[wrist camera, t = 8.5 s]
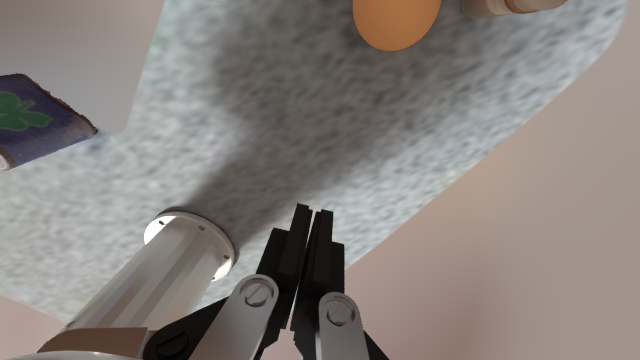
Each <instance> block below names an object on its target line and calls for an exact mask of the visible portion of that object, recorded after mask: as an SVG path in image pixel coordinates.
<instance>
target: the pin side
mask: <svg viewBox="0 0 640 360" xmlns="http://www.w3.org/2000/svg"><path fill="white" fill-rule="evenodd" d="M566 1H568V0H462V1H461V9H462V12H463V13H464V15H465V16H466V17H468V18H482V17H490V16H499V15H507V14H515V13H518V14H523V13H531V12H536V11H539V10H547V9H553V8H556V7H558V6H560V5H562V4H564V3H565V2H566Z"/></svg>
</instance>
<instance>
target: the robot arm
mask: <svg viewBox="0 0 640 360" xmlns="http://www.w3.org/2000/svg"><path fill="white" fill-rule="evenodd" d="M312 212H313V210H310V209H309V206H307V205H303V204H299V203H297V207H296V210H295V214H294V217H293V220H292V224H291V227H290V231H287V230H282V229H278V228H273V230H272V232H271V235H270V237H269V240H268V243H267V245H266V248H265V250H264V253H263V256H262V258H261V261H260V263H259V266H258V269H257V271H256V274H253V275H249V276H247V277H245V278H243V279H242V280H241V281H240V282H239V283H238V284H237V285H236V287H235V289H234V290H233V292H232V293H231V295H230V296H228V297H226V298H224V299H222V300H220V301H217V302H215V303H213V304H211V305H209V306H207V307H204V308H202V309H200V310H198V311H196V312H194V310H195V308H196V307H197V305H198V303H199V301H200V300H201V298H202V296H203V294H204V293H205V291H206V289H207V288H208V286H209V284H210V282H211V281H216V280H219V279H221V278H223V277H224V276H226V275H227V274H228V273H229V271H230V269H231V267H232V266H233V263H234V258H235V254H234V249H233V246H232V244H231V242H230V240H229V239H228V237H227V236H226V235H225V234H224V233H223V232H222V230H221V229H219V228H218V227H217V226H216V225H214V224H213V223H211V222H210V221H208V220H206V219H205V218H202V217H200V216H198V215H194V214H191V213H187V212H179V211H178V212H167V213H163V214H161V215H159V216H157V217H156V218H155V219H154V220H153V221H151V222H150V224H149V225H148V226H147V228H146V230H145V236H144V238H145V244H146V245H145V246H144V247H143V248H142V249H141V250H140V251H139V252H138V253H137V254H136V255H135V256H134V257H133V258H132V259H131V260H130V261H129V262H128V263H127V264H126V265H125V266H124V267H123V268H122V269H121V270H120V271H119V272H118V273H117V274H116V275H115V276H114V277H113V278H112V279H111V280H110V281H109V282H108V283H107V284H106V285H105V286H104V287H103V288H102V289H101V290H100V291H99V292H98V293H97V294H96V295H95V296H94V297H93V298H92V299H91V300H90V301H89V302H88V303H87V305H86V306H85V307H84V308H83V309H82V310H81V311H80V312H79V313H78V314H77V315H76V316H75V317H74V318H73V319H72V320H71V321H70V322H69V323H68V324H67V325H66V326H65V327H64V328H63V329H62V330H61V331H60V332H59V333H58V334H57V335H56V336H55V337H53V338H52V339H50V340H49V341H47V342H46V343H45V344H44V345H43V346H42V347H41V348H40V349H39V350H38V351H37V353H34V354H30V355H25V356H20V357H14V358H10V359H7V360H262V358H263V355H264V353H265V349H266V348H267V347H268V346H270V345H271V344H273V343H274V342H276V341H277V340H278V336H279V333H280V329H286V325H287V322H288V319H289V315H290V312H291V308H292V305H293V301H294V298H295V294H296V290H297V294H296V300H295V305H294V310H293V316H292V321H291V326H290V331H294V332H295V333H294V339H293V341H295V345H296V347H297V348H298V350H299V352H300V353H301V357H300V360H389V359H388V358H387V356H386V355H385V354H384V353H383V352H382V351H381V349H380V348H379V347H378V346H377V345H376V344H375V342H374V341H373V340H372V339H371V338H370V337H369V335H368V334H367V333H366V332H365V331H364V330H363V326H362V321H361V317H360V312H359V309H358V307H357V305H356V303H355V302H354V301H353V300H352V299H351V298H350V297H349V296H347V295H345V294H344V244H341V243H337V242H333V241H332V228H333V212H332V211H328V210H323V209H322V210H321V212H318V211H316V214H315V218H314V221H313V225H312V229H311V232H310V236H309V240H308V243H307V239H308V234H309V228H310V223H311V218H312ZM306 244H307V247H306ZM298 283H299V284H298ZM297 287H298V289H297ZM193 312H194V313H193Z"/></svg>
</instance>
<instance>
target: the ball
mask: <svg viewBox="0 0 640 360" xmlns="http://www.w3.org/2000/svg"><path fill="white" fill-rule="evenodd" d="M441 1H442V0H353V16H354V21H355V24H356V27H357V29H358V31H359V33H360V35H361V36H362V38H363V39H364V40H365V41H366V42H367V43H368V44H370V45H371V46H373V47H375V48H377V49H380V50H383V51H397V50H401V49H405V48H407V47H409V46H411V45H413V44H414V43H416V42H417V41H419V40H420V39H421V38H422V37H423V36H424V35H425V34H426V33H427V32H428V30H429V29H430V28H431V26H432V25H433V23H434V21H435V19H436V17H437V15H438V12H439V9H440V5H441Z"/></svg>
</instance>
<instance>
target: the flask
mask: <svg viewBox="0 0 640 360" xmlns="http://www.w3.org/2000/svg"><path fill="white" fill-rule="evenodd" d="M95 132H96V127H94V126H93V125H92V124H91V122H90V121H89V120H88V119H87V118H86V117H85V116H83V115H79V114H78V113H77V112H75V111H74V110H73V109H72V108H70V106H69V105H67V104H66V103H65V102H63V101H61V99H57V98H54V97H52V96H51V95H50V92H48V91H46V90H43V89H42V88H41V87H40V86H39V85H38V84H37V83H35V82H34V81H32V79H30V78H29V77H28V76H26V75H24V74H17V73H16V74H12V75H3V76H0V170H3V171H5V170H10V169H12V168H15V167H17V166H20V165H22V164H24V163H27V162H29V161H32V160H34V159H37V158H40V157H43V156H45V155H48V154H51V153H53V152H56V151H58V150H60V149H63V148H66V147H68V146H70V145H73V144H76V143H78V142H81V141H84V140H87V139H90V138H92V137H93V136H94V135H95Z"/></svg>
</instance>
